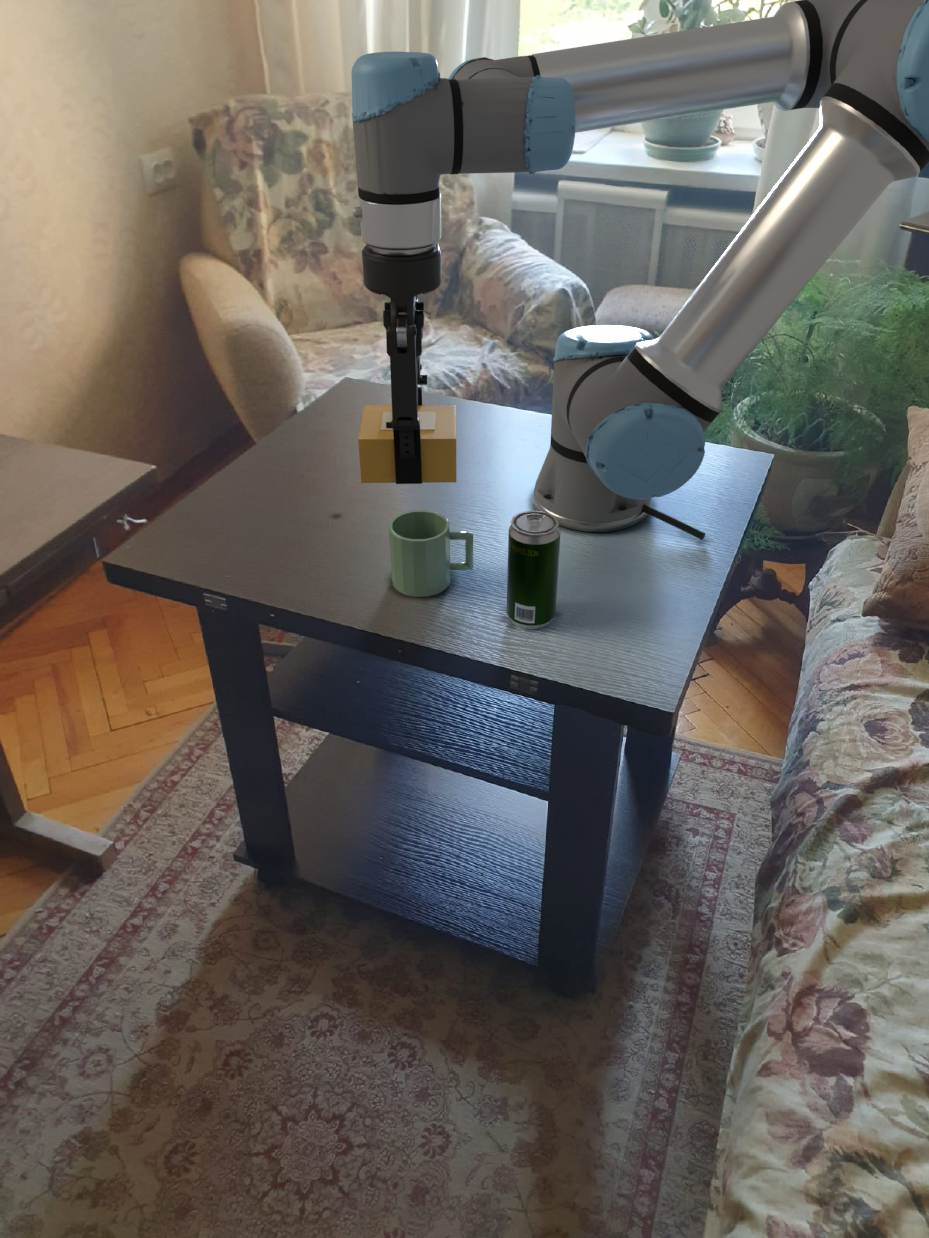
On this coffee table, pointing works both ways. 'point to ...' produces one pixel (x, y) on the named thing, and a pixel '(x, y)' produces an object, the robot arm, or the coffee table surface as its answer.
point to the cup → (424, 552)
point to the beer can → (532, 569)
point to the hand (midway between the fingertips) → (410, 462)
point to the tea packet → (434, 444)
